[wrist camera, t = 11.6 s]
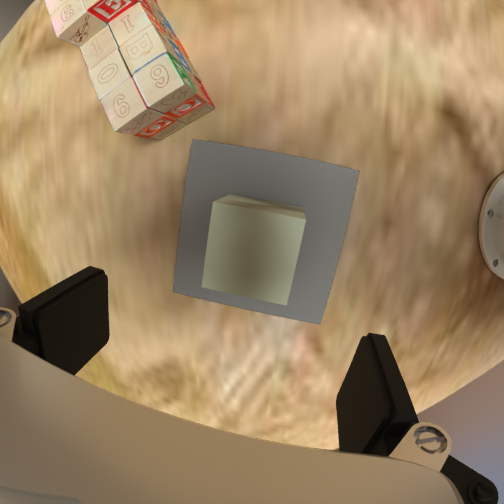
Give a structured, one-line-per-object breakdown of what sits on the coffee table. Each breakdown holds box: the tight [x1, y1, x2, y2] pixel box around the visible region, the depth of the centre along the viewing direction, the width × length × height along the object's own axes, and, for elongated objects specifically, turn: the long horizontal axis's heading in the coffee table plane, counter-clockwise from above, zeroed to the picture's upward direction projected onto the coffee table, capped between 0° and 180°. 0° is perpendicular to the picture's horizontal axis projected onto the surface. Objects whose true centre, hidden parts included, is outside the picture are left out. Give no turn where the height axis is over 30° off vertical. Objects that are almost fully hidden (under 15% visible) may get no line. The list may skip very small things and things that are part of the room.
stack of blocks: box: [45, 0, 215, 140], centre depth 20 cm, size 21×6×12 cm, turn 27°
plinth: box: [173, 139, 359, 324], centre depth 28 cm, size 14×14×3 cm
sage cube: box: [202, 194, 306, 305], centre depth 23 cm, size 6×6×6 cm
